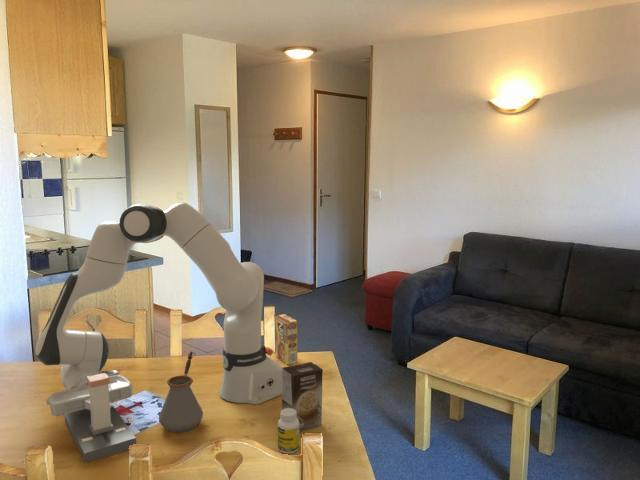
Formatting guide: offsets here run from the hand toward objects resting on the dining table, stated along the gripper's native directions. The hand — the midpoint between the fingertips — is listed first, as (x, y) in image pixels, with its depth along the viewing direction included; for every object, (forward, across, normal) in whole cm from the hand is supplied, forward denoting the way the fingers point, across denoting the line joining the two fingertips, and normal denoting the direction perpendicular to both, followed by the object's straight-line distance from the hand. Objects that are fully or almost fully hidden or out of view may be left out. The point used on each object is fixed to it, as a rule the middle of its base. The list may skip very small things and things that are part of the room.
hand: (98, 407), depth 139 cm
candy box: (-16, +66, +8) cm, 68 cm away
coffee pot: (+2, +22, +8) cm, 23 cm away
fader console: (-1, 0, +8) cm, 8 cm away
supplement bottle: (+32, +37, +8) cm, 49 cm away
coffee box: (+24, +46, +8) cm, 53 cm away
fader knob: (+2, 0, +5) cm, 5 cm away
